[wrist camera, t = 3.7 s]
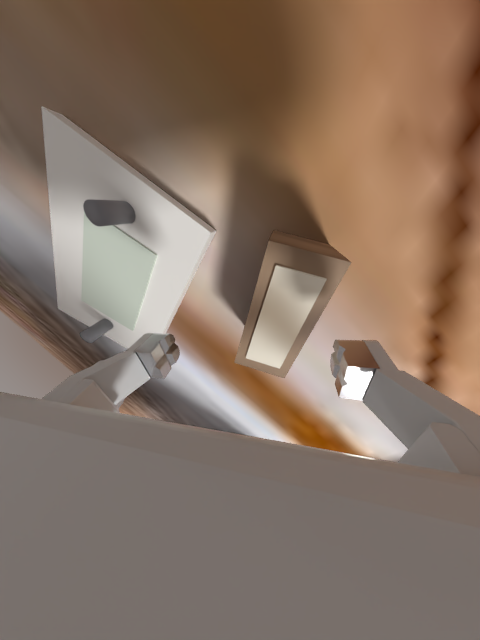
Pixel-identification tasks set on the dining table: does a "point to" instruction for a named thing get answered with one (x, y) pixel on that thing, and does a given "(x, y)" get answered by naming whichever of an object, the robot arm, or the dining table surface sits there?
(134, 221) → the wall panel
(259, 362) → the walnut frame
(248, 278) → the dining table surface
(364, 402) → the robot arm
